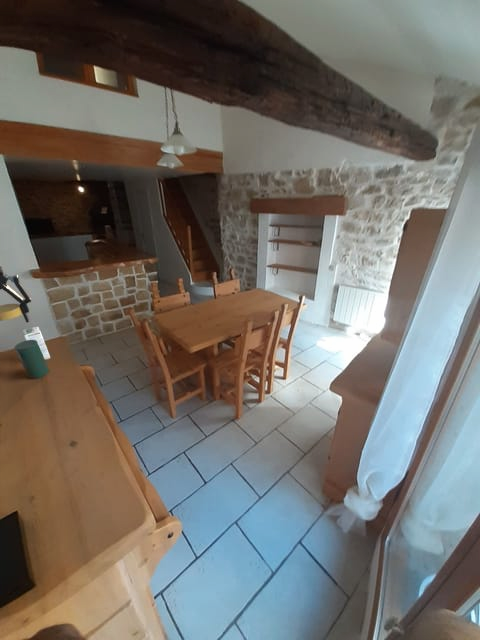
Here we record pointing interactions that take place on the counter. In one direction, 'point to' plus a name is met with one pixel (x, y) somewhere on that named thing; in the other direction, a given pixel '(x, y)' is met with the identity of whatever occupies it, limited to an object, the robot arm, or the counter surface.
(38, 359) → the green upright cylinder
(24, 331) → the syrup box
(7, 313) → the lid
